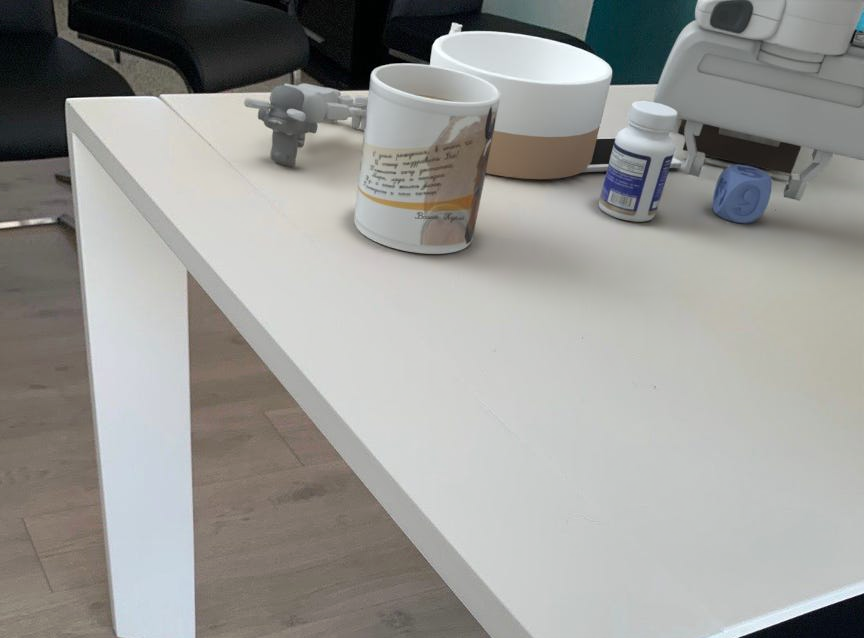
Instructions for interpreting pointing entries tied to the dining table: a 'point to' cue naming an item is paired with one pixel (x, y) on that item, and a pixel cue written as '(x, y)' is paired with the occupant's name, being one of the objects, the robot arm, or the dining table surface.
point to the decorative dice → (742, 193)
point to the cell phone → (604, 153)
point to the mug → (424, 157)
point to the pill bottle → (639, 163)
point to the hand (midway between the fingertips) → (740, 185)
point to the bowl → (534, 99)
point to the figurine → (304, 115)
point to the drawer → (746, 148)
